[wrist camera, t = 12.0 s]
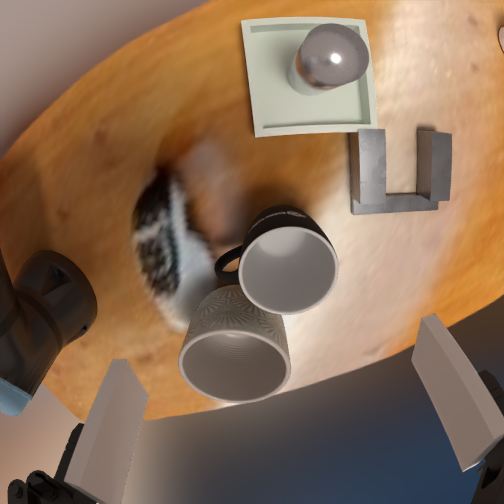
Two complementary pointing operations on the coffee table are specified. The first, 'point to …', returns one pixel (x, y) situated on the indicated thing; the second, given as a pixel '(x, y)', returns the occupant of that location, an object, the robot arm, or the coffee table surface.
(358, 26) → the tray
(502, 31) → the can
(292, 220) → the mug
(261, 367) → the planter
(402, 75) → the coffee table surface
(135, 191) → the coffee table surface
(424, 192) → the hitch clevis
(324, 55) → the pin
